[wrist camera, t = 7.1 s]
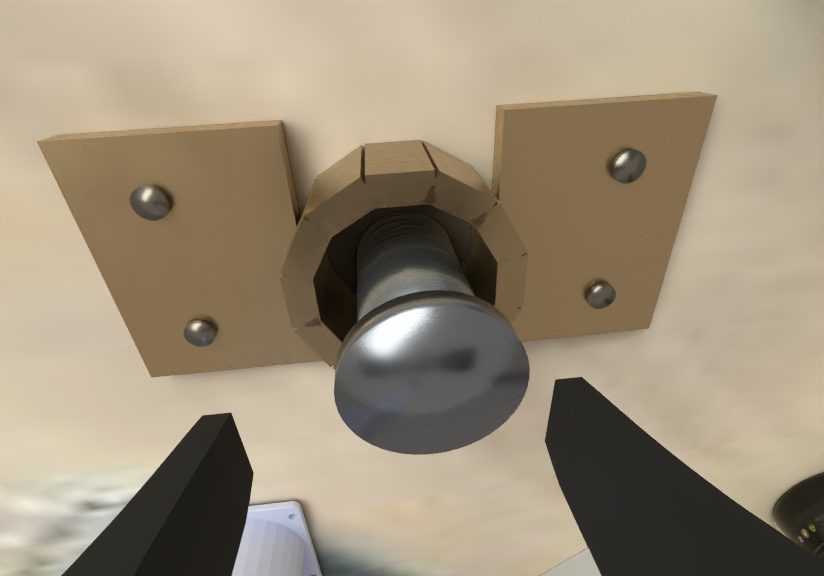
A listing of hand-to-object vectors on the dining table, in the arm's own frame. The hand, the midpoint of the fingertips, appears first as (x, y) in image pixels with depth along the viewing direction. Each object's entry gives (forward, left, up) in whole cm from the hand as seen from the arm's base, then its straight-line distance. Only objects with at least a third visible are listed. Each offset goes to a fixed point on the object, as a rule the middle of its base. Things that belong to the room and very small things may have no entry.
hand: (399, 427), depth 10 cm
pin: (0, -1, -9) cm, 9 cm away
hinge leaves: (0, -1, -9) cm, 9 cm away
